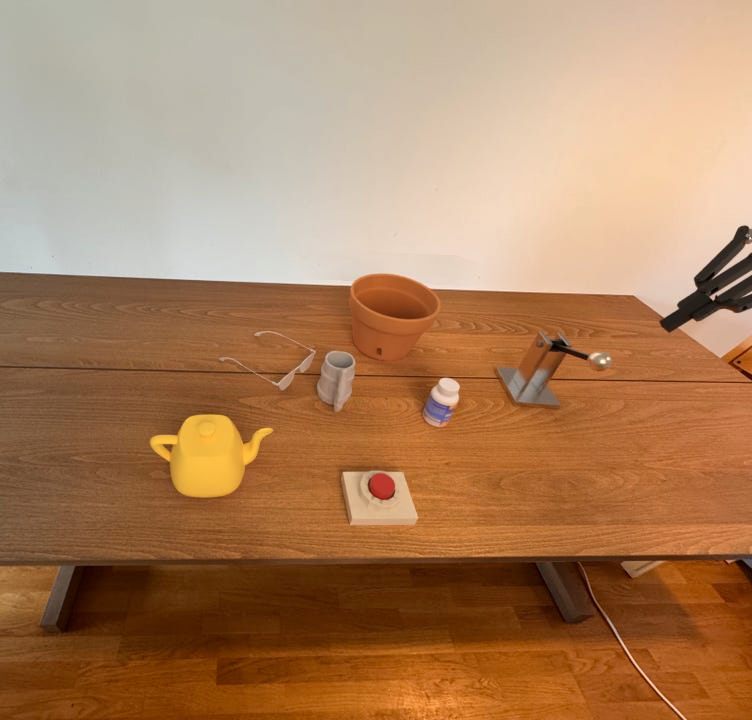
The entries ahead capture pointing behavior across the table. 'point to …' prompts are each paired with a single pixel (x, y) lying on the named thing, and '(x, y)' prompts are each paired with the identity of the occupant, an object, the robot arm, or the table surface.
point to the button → (381, 486)
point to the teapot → (208, 455)
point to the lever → (585, 356)
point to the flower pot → (390, 314)
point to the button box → (377, 501)
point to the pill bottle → (441, 402)
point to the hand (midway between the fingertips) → (664, 327)
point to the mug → (336, 378)
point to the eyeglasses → (289, 377)
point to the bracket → (534, 374)
